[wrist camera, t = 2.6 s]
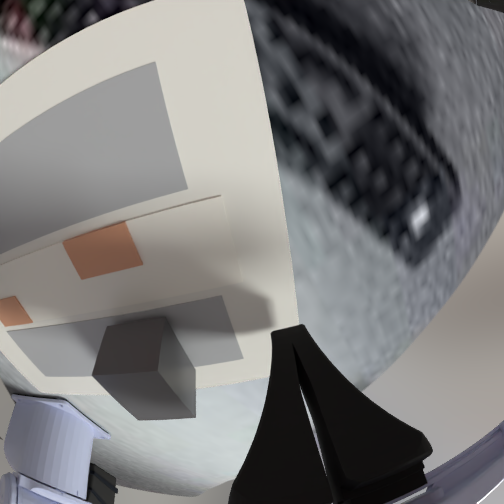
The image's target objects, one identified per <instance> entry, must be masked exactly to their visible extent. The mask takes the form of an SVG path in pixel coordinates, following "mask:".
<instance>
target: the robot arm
mask: <svg viewBox="0 0 504 504" xmlns="http://www.w3.org/2000/svg"><path fill="white" fill-rule="evenodd" d="M270 334H271V342H272V359H271V370H270V378H269V384H268V390H267V395H266V400H265V404H264V408H263V412H262V416H261V419H260V422H259V425H258V428H257V431H256V434H255V437H254V440H253V442H252V445H251V447H250V450H249V452H248V454H247V457H246V459H245V461H244V463H243V465H242V467H241V469H240V471H239V473H238V475H237V477H236V479H235V480H234V482H233V484H232V488H231V492H230V496H229V501H228V504H331V503H333V504H393V503H395V502H397V501H399V500H401V499H404V498H406V497H408V496H410V495H412V494H414V493H416V492H418V491H420V490H422V489H424V488H426V487H427V490H426V492H425V493H423V494H420V495H418V496H416V497H413V498H411V499H410V500H407V501H405V502H403V503H401V504H478V503H479V502H481V501H482V500H483V499H484V498H485V497H486V496H487V495H488V494H490V493H491V492H492V491H493V490H494V489H495V488H496V487H497V486H498V485H499V484H500V483H501V482H502V481H503V480H504V421H502V422H501V423H500V424H499V425H498V426H497V427H496V428H494V429H493V430H492V431H491V432H489V433H488V434H487V435H486V436H484V437H483V438H482V439H480V440H479V441H478V442H476V443H475V444H473V445H472V446H471V447H469V448H468V449H466V450H465V451H463V452H462V453H460V454H459V455H457V456H456V457H454V458H452V459H451V460H449V461H447V462H446V463H444V464H442V465H441V466H439V467H437V468H436V469H434V470H432V471H430V472H428V473H426V474H424V472H423V468H424V464H423V460H424V459H426V458H427V457H428V456H430V455H431V454H432V452H433V449H432V447H431V445H430V443H429V441H428V440H427V438H426V437H425V436H424V434H423V433H422V432H420V431H419V430H417V429H415V428H413V427H411V426H409V425H408V424H406V423H404V422H402V421H400V420H399V419H397V418H396V417H394V416H393V415H391V414H389V413H388V412H386V411H385V410H384V409H382V408H381V407H380V406H378V405H377V404H375V403H374V402H372V401H371V400H370V399H369V398H368V397H366V396H365V395H364V394H363V393H362V392H360V391H359V390H358V389H357V388H356V387H355V386H354V385H353V384H352V383H350V382H349V381H348V380H347V379H346V378H345V377H344V376H343V375H342V374H341V372H340V371H339V370H338V369H337V368H336V367H335V366H334V365H333V364H332V363H331V361H330V360H329V359H328V358H327V357H326V356H325V354H324V353H323V352H322V351H321V349H320V348H319V347H318V345H317V344H316V343H315V341H314V340H313V338H312V337H311V335H310V334H309V332H308V331H307V329H306V327H305V325H303V324H300V325H296V326H292V327H288V328H283V329H279V330H275V331H272V332H271V333H270ZM299 384H300V385H299ZM300 387H301V389H300ZM301 390H302V393H303V395H304V398H305V401H306V403H307V406H308V409H309V411H310V414H311V417H312V420H313V423H314V426H315V429H316V433H317V437H318V441H319V445H320V449H321V453H322V458H323V461H324V466H325V470H326V473H325V470H324V466H323V463H322V460H321V457H320V454H319V451H318V447H317V444H316V441H315V438H314V434H313V431H312V428H311V424H310V421H309V418H308V414H307V411H306V408H305V404H304V401H303V397H302V394H301ZM11 398H12V399H13V400H14V401H15V402H16V404H15V407H14V410H13V414H12V417H11V420H10V423H9V427H8V431H7V434H6V438H5V442H4V451H5V455H6V458H7V460H8V463H9V464H10V466H11V467H12V468H13V469H14V470H15V471H16V472H17V473H15V472H13V474H12V473H10V472H9V473H7V474H4V475H2V477H1V480H0V504H92V503H89V502H86V501H83V500H86V495H87V483H88V474H89V465H90V457H91V450H92V444H93V438H98V439H110V438H111V436H110V435H109V434H108V433H106V432H105V431H103V430H102V429H101V428H99V427H98V426H97V425H95V424H94V423H93V422H92V421H90V420H89V419H88V418H86V417H85V416H84V415H83V414H81V413H80V412H79V411H78V410H77V409H75V408H74V407H73V406H72V405H71V404H70V403H68V402H67V401H65V400H57V399H46V398H37V397H29V396H22V395H15V394H12V396H11ZM326 475H327V476H326ZM81 499H82V500H81Z"/></svg>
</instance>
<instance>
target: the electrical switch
mask: <svg viewBox="0 0 504 504" xmlns="http://www.w3.org/2000/svg"><path fill="white" fill-rule="evenodd" d="M469 1H471V2H472V3H474V4H476V0H469ZM489 1H490V2H491V3H490V2H489ZM477 5H478V6H482V7H486V8H489V9H493V10H496V11H499V12H503V13H504V0H477Z"/></svg>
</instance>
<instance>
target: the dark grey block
mask: <svg viewBox="0 0 504 504" xmlns="http://www.w3.org/2000/svg"><path fill="white" fill-rule="evenodd" d="M92 377H93V378H94V379H95V380H96V381H97V382H98V383H99V384H100V385H101V386H102V387H103V388H104V389H105V390H106V391H107V392H108V393H109V394H110V395H111V396H112V397H113V398H114V399H115V400H116V401H117V402H119V403H120V404H121V405H122V406H123V407H124V408H125V409H126V410H127V411H128V412H129V413H131V414H132V415H133V416H134V417H135V418H136V419H138V420H167V419H183V418H195V417H196V369H195V368H194V366H193V364H192V363H191V361H190V359H189V358H188V356H187V354H186V353H185V351H184V349H183V347H182V346H181V344H180V342H179V340H178V339H177V337H176V335H175V333H174V331H173V330H172V328H171V326H170V324H169V322H168V320H167V318H166V317H159V318H153V319H148V320H142V321H136V322H129V323H123V324H117V325H110V326H107V327H106V330H105V333H104V336H103V339H102V342H101V345H100V349H99V352H98V355H97V358H96V362H95V365H94V369H93V372H92Z"/></svg>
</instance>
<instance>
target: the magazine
mask: <svg viewBox="0 0 504 504" xmlns="http://www.w3.org/2000/svg"><path fill="white" fill-rule="evenodd" d="M115 486H116V478H115V477H113V476H111V475H110V474H108V473H107V472H105V471H104V470H102V469H101V468H99V467H98V466H96V465H95V464H91V463H90V465H89V474H88V483H87V495H86V500H83V501H86V502H89V503H92V504H114V498H115V493H118V489H117V488H115ZM81 500H82V499H81Z"/></svg>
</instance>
